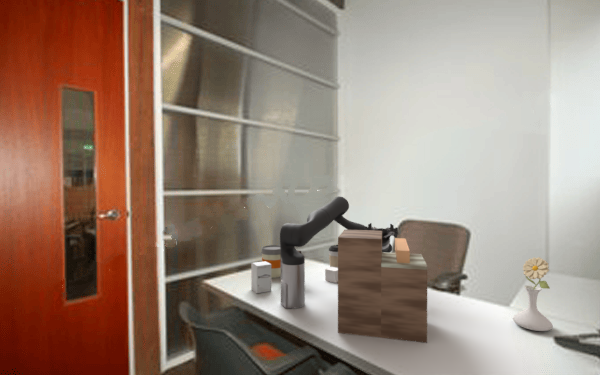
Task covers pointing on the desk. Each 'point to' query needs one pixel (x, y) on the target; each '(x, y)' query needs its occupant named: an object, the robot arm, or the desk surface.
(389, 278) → the stepped stand
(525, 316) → the flower in vase
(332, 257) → the coffee cup
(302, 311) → the desk surface
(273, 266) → the reusable coffee cup
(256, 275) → the supplement box
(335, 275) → the white cube
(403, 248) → the terracotta bar
